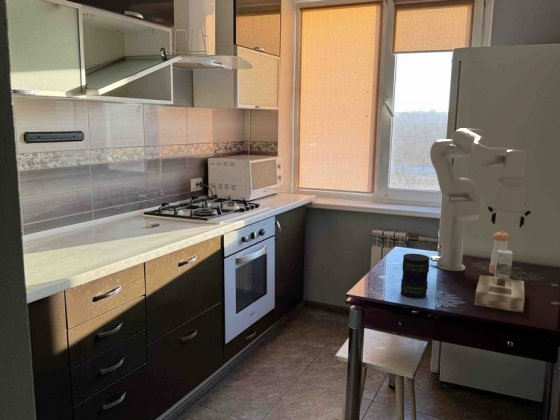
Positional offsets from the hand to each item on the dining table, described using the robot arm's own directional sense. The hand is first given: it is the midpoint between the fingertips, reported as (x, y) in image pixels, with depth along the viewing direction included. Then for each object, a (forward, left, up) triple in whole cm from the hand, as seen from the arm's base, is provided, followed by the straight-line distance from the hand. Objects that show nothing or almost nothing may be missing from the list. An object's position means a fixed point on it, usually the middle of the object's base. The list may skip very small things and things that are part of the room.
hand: (507, 225), depth 198 cm
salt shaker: (-2, +27, -27) cm, 38 cm away
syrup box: (0, +8, -27) cm, 28 cm away
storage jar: (-30, -24, -27) cm, 47 cm away
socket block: (0, -12, -27) cm, 29 cm away
